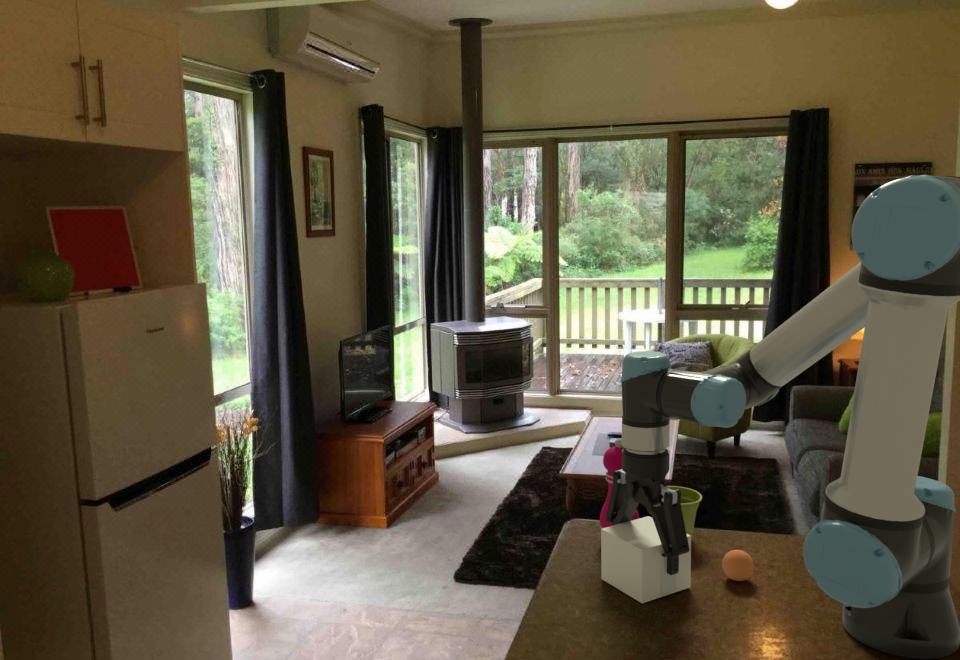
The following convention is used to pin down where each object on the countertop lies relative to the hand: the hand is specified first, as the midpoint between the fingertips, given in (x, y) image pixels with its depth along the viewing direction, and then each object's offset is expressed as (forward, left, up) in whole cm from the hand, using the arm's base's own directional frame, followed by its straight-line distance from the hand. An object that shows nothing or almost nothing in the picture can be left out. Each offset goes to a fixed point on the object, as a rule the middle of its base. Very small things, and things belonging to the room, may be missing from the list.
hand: (645, 578), depth 134 cm
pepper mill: (+15, -7, -1) cm, 17 cm away
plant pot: (+11, -17, -1) cm, 20 cm away
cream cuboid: (0, 0, -1) cm, 1 cm away
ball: (-7, -14, +2) cm, 16 cm away
